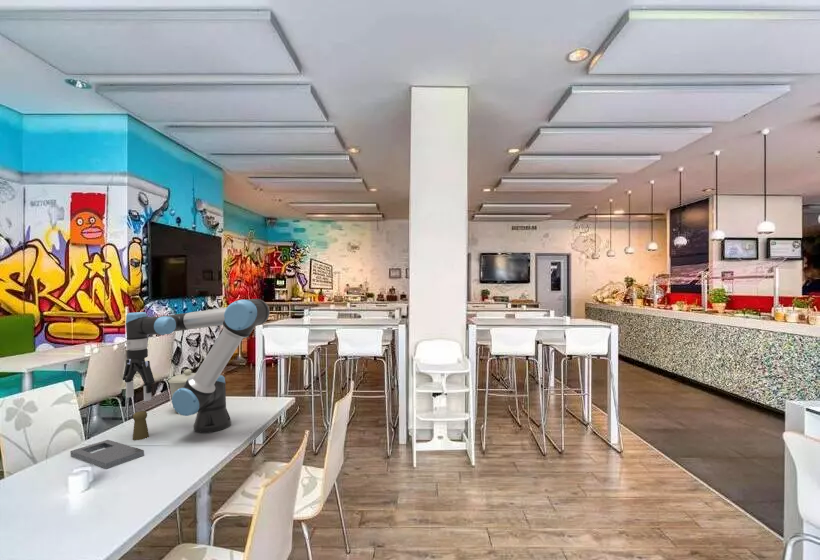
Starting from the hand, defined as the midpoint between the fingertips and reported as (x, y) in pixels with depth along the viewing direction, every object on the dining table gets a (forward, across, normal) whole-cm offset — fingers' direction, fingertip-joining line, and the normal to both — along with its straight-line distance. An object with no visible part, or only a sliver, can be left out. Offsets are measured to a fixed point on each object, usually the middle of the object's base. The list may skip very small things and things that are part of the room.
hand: (138, 398), depth 185 cm
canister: (+17, -19, +34) cm, 42 cm away
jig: (+16, +9, -17) cm, 25 cm away
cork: (+17, 0, 0) cm, 17 cm away
